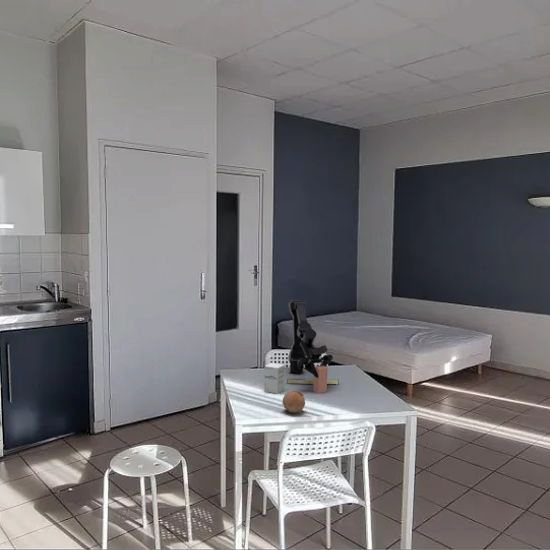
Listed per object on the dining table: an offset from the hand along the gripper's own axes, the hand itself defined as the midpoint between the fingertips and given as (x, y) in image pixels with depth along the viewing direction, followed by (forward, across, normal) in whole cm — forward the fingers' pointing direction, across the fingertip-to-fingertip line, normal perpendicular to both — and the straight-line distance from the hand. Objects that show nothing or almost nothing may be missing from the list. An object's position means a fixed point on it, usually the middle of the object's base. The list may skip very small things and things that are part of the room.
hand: (322, 376), depth 245 cm
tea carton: (+4, 0, +6) cm, 8 cm away
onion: (+17, -28, -5) cm, 33 cm away
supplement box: (-3, -19, +15) cm, 24 cm away
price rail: (-4, +5, +15) cm, 16 cm away
